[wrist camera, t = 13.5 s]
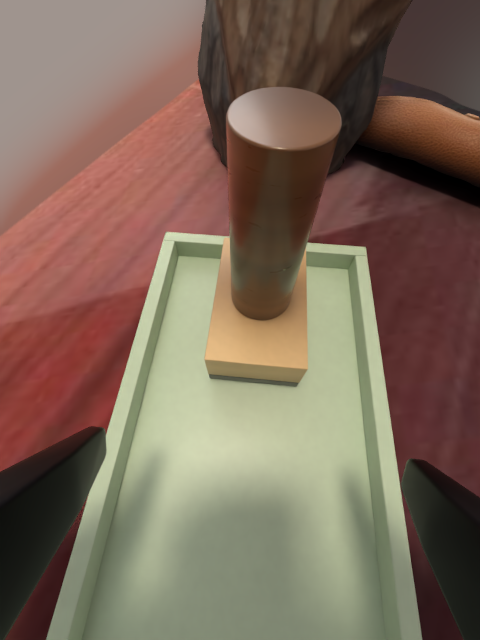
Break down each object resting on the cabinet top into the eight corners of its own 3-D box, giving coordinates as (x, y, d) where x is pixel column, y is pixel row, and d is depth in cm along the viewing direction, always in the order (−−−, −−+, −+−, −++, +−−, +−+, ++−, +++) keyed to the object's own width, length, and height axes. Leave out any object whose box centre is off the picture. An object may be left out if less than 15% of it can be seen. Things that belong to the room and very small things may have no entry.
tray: (429, 902, 9) (476, 1005, 8) (14, 836, 10) (-37, 918, 8) (355, 266, 22) (366, 246, 20) (171, 252, 22) (165, 231, 20)
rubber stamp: (297, 387, 17) (399, 225, 6) (209, 378, 17) (163, 208, 6) (297, 274, 20) (360, 54, 10) (225, 268, 21) (213, 46, 10)
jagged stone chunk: (199, 130, 30) (146, -373, 12) (311, 107, 32) (401, -345, 14) (245, 213, 24) (269, -500, 7) (376, 178, 26) (654, -420, 9)
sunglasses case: (560, 169, 26) (637, 115, 20) (515, 239, 27) (576, 207, 20) (371, 105, 31) (384, 43, 25) (335, 165, 32) (340, 121, 25)
